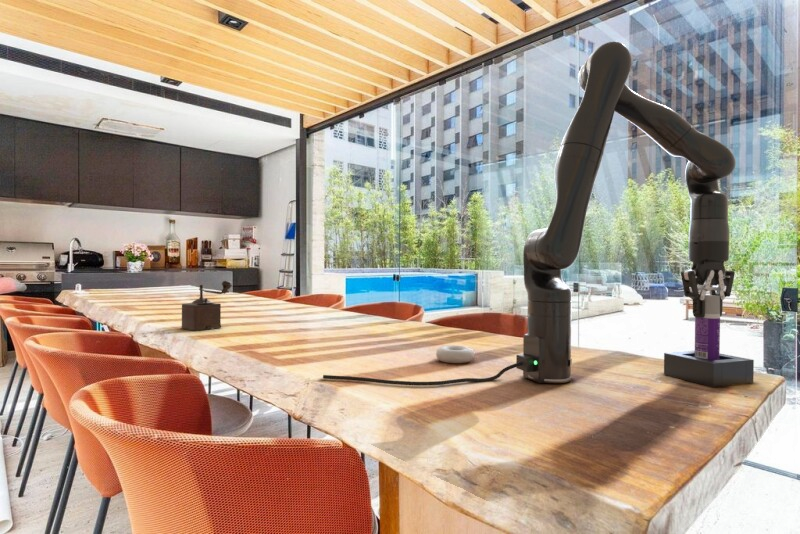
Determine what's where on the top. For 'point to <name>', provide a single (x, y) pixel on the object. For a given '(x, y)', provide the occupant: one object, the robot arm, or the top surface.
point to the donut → (455, 354)
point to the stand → (709, 369)
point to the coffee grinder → (203, 311)
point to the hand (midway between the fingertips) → (707, 316)
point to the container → (708, 330)
